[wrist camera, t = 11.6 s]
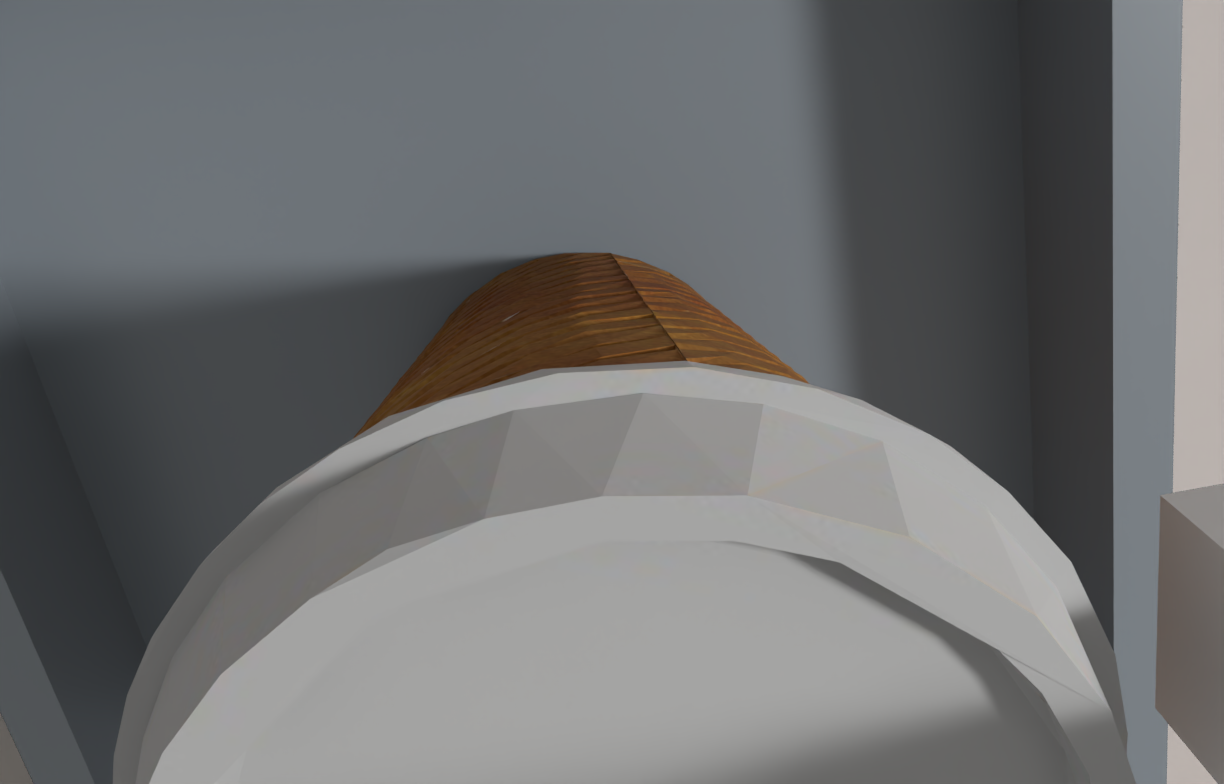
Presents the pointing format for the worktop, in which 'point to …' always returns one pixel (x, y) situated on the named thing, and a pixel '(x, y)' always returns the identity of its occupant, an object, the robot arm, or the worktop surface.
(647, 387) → the disposable coffee cup
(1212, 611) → the robot arm
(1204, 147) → the worktop surface
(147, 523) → the bin
